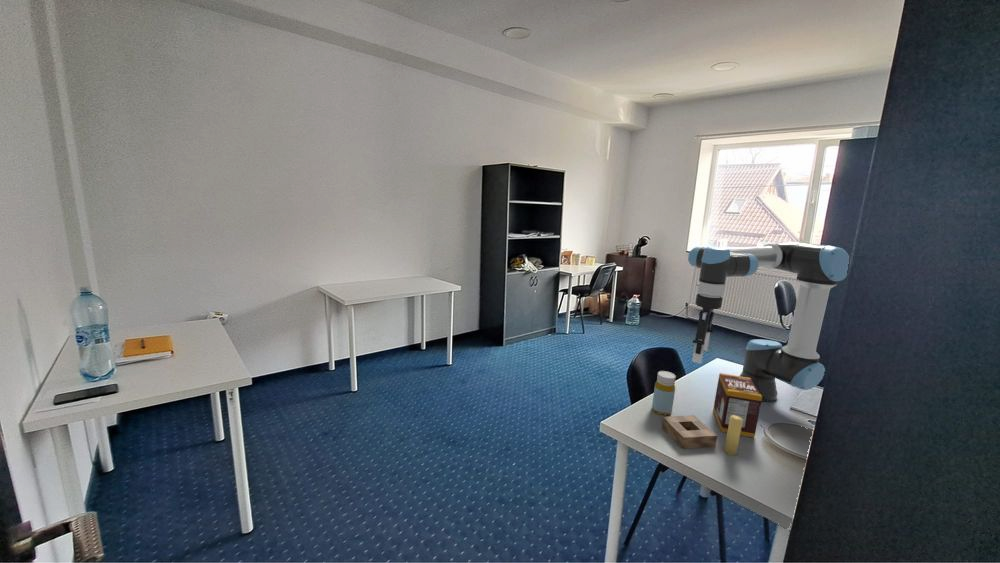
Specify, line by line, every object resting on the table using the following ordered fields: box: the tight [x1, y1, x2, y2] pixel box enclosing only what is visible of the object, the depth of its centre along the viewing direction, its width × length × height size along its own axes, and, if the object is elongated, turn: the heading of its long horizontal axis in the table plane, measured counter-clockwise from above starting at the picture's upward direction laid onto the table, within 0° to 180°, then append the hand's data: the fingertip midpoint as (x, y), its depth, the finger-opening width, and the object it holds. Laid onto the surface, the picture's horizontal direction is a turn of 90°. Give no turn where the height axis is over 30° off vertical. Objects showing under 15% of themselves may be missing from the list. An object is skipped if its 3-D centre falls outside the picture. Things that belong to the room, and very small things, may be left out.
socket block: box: [661, 414, 718, 449], centre depth 131 cm, size 12×12×4 cm
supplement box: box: [713, 372, 763, 438], centre depth 139 cm, size 10×15×16 cm
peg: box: [724, 415, 743, 456], centre depth 123 cm, size 3×3×12 cm
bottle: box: [651, 370, 677, 416], centre depth 145 cm, size 7×7×15 cm
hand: (699, 355), depth 130 cm, fingers open, 13 cm apart
